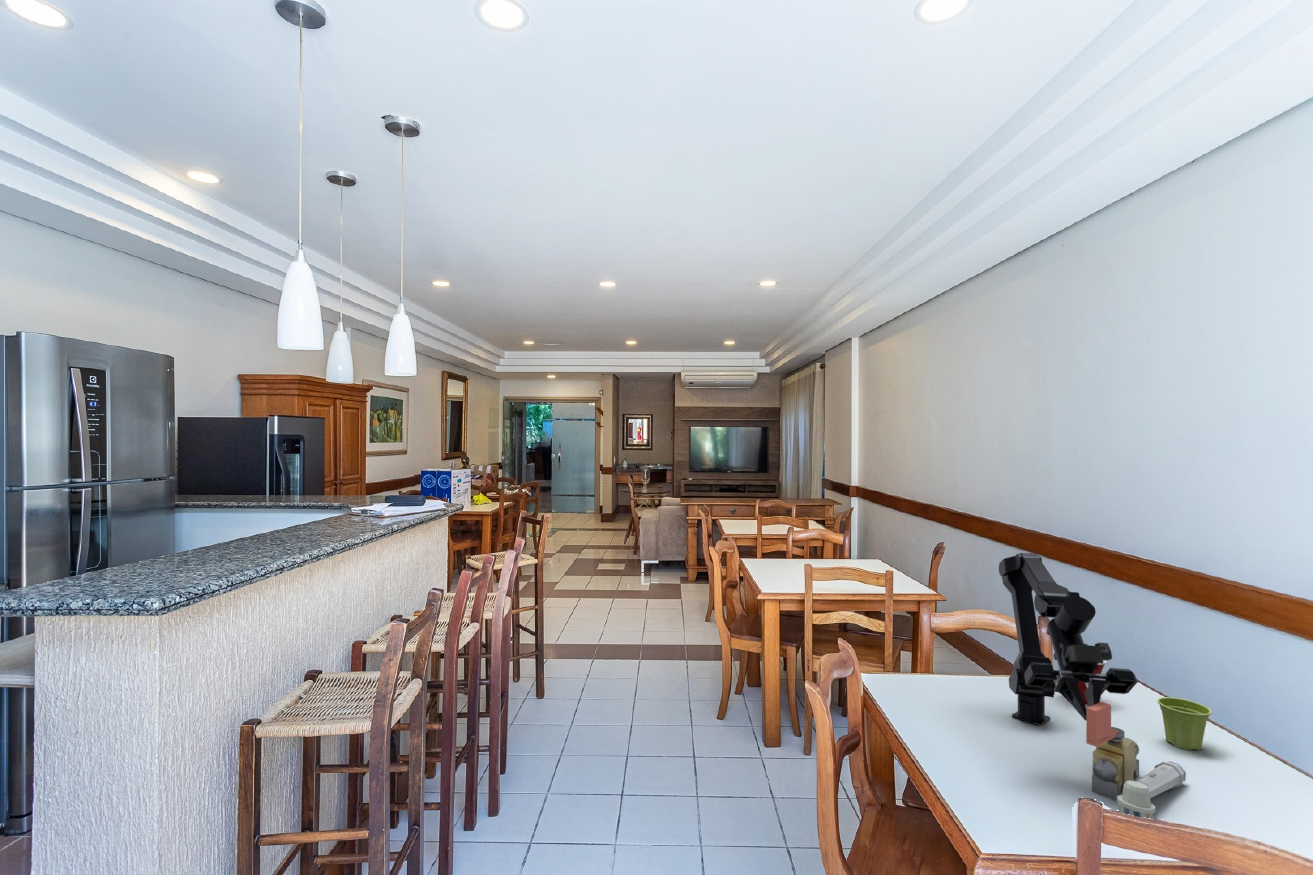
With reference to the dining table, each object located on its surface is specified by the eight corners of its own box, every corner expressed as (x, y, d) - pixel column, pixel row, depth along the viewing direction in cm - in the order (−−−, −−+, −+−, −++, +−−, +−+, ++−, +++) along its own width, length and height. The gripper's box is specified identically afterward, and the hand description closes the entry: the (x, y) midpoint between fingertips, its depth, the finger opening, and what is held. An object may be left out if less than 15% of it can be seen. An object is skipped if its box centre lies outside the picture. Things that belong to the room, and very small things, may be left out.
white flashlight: (1191, 766, 125) (1149, 787, 110) (1189, 801, 124) (1147, 828, 109) (1157, 755, 129) (1113, 775, 114) (1156, 790, 129) (1111, 814, 114)
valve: (1114, 765, 133) (1114, 720, 133) (1142, 774, 129) (1142, 728, 129) (1089, 791, 122) (1089, 742, 122) (1118, 801, 119) (1118, 751, 119)
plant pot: (1212, 744, 143) (1212, 705, 143) (1210, 758, 136) (1210, 717, 136) (1159, 731, 149) (1159, 693, 150) (1155, 744, 143) (1155, 705, 143)
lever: (1109, 730, 127) (1109, 695, 127) (1127, 736, 125) (1127, 700, 125) (1082, 743, 121) (1082, 706, 122) (1100, 749, 119) (1100, 712, 119)
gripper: (1029, 622, 131) (1050, 698, 120) (1133, 629, 127) (1164, 707, 116) (1016, 648, 139) (1034, 721, 128) (1113, 655, 135) (1140, 731, 124)
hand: (1092, 720), depth 124 cm, fingers closed
